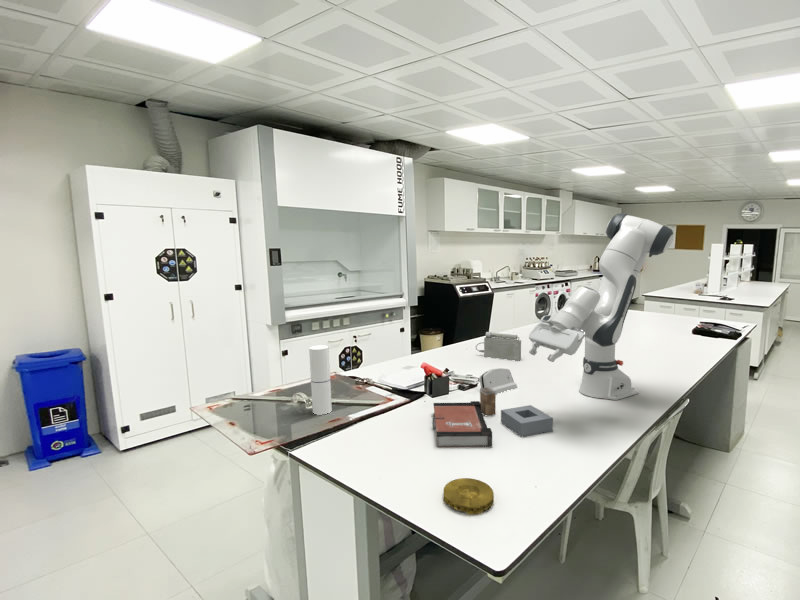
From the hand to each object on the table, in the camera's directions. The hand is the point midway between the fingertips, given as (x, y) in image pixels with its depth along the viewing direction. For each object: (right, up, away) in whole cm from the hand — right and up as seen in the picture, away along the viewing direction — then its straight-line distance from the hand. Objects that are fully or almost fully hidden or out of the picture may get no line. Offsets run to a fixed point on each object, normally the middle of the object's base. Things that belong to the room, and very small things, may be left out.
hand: (540, 357), depth 141 cm
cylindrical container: (-76, -24, +19) cm, 82 cm away
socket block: (-4, -24, +1) cm, 24 cm away
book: (-27, -25, +1) cm, 37 cm away
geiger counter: (+6, -13, +88) cm, 89 cm away
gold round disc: (-30, -30, -38) cm, 57 cm away
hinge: (-5, -19, +39) cm, 44 cm away
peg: (-15, -22, +14) cm, 30 cm away
